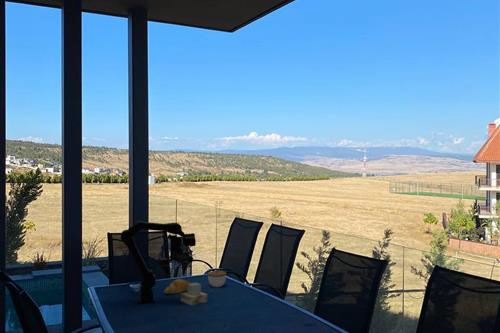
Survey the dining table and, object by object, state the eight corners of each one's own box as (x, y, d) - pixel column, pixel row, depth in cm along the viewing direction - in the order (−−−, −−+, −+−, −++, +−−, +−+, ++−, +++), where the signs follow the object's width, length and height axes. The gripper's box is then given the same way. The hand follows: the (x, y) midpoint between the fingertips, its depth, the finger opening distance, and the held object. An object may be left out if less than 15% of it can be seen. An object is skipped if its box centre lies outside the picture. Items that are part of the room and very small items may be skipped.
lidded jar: (207, 284, 278) (207, 268, 278) (224, 283, 280) (225, 267, 280) (208, 288, 267) (208, 272, 267) (227, 287, 269) (227, 271, 269)
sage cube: (192, 295, 237) (192, 285, 237) (187, 293, 241) (187, 283, 241) (200, 294, 240) (200, 284, 240) (195, 292, 244) (195, 282, 244)
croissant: (168, 302, 252) (173, 290, 249) (156, 291, 257) (161, 279, 254) (194, 293, 269) (199, 281, 267) (183, 282, 274) (187, 271, 272)
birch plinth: (190, 305, 234) (190, 297, 234) (180, 300, 241) (180, 293, 241) (207, 302, 240) (207, 294, 240) (197, 297, 248) (197, 290, 248)
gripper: (167, 250, 232) (166, 282, 232) (198, 247, 244) (198, 277, 244) (156, 247, 241) (156, 278, 241) (188, 244, 252) (187, 273, 252)
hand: (175, 276), depth 244 cm, fingers open, 9 cm apart
